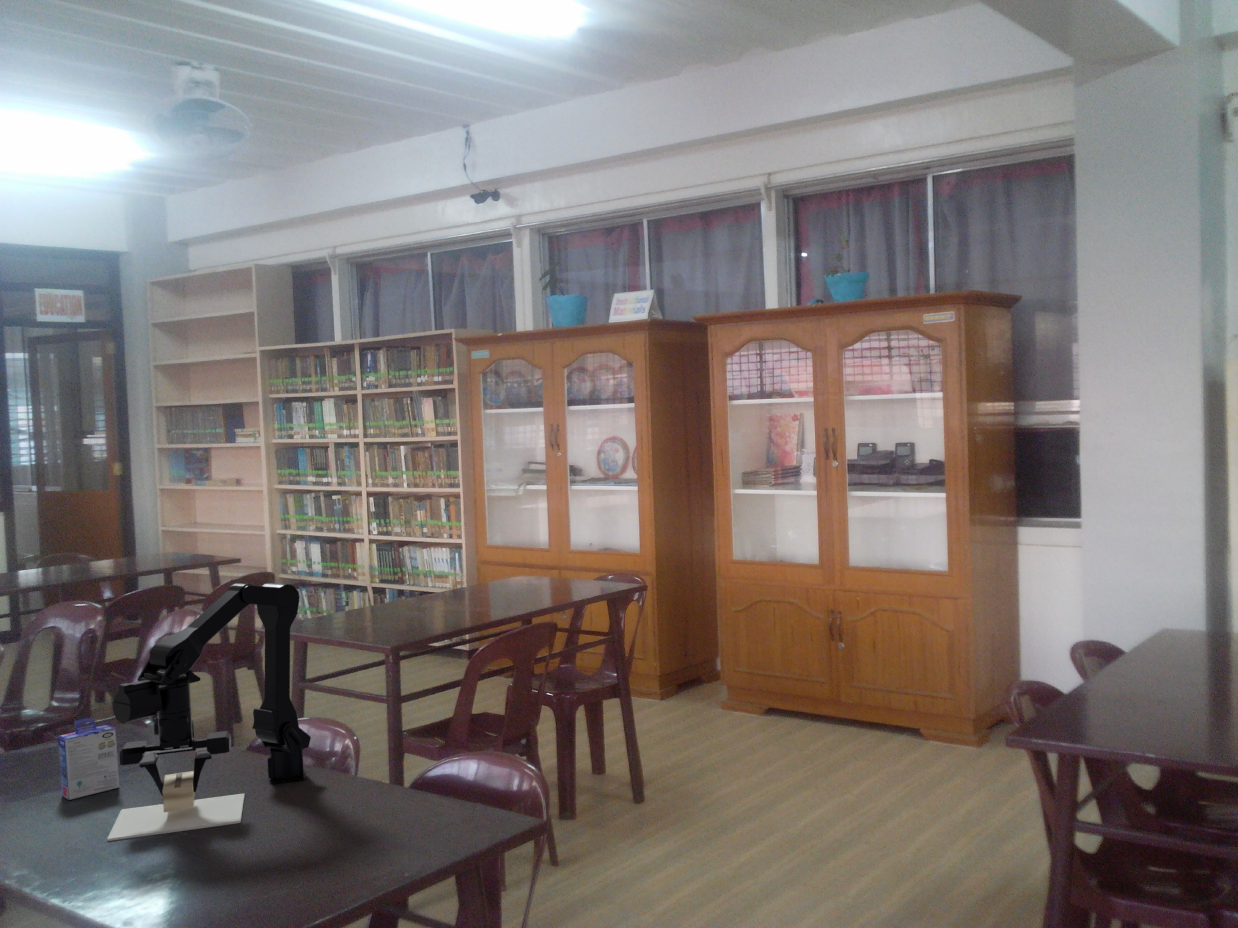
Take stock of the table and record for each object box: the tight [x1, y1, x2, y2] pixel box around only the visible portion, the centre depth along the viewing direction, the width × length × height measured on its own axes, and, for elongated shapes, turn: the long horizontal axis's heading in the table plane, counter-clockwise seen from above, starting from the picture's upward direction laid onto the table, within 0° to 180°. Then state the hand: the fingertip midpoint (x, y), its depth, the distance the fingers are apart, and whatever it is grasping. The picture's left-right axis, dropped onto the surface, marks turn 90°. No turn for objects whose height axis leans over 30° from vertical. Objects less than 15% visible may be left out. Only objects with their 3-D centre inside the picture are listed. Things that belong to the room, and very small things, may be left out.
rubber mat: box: [106, 793, 246, 842], centre depth 199 cm, size 22×16×1 cm
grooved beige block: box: [162, 770, 196, 812], centre depth 200 cm, size 10×5×4 cm, turn 20°
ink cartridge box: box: [57, 717, 120, 801], centre depth 217 cm, size 10×6×14 cm, turn 135°
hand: (179, 793), depth 200 cm, fingers closed on grooved beige block, 5 cm apart
